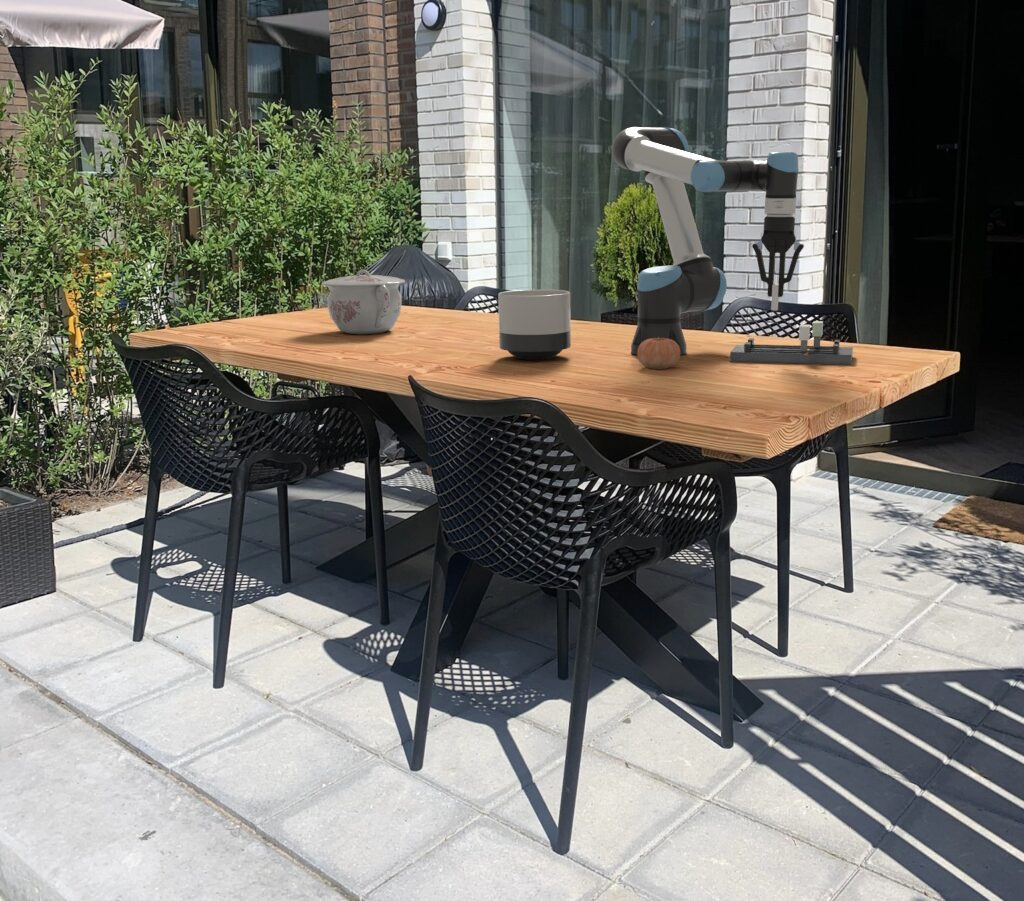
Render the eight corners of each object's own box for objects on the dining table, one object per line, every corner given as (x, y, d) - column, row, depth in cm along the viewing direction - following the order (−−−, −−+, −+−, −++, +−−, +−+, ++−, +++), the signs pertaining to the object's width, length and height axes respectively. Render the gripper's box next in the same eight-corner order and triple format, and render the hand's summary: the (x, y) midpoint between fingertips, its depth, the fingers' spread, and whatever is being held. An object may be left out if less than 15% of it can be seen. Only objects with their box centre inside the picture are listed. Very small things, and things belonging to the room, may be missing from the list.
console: (729, 362, 278) (729, 345, 277) (736, 353, 293) (737, 337, 292) (850, 366, 269) (851, 348, 268) (852, 356, 284) (853, 339, 283)
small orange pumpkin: (669, 372, 265) (670, 340, 263) (629, 369, 271) (630, 338, 269) (687, 366, 274) (687, 335, 272) (648, 363, 280) (648, 333, 278)
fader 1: (798, 351, 275) (799, 326, 274) (799, 349, 279) (800, 324, 278) (808, 352, 275) (809, 326, 273) (809, 349, 278) (810, 324, 277)
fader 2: (811, 347, 282) (812, 322, 280) (812, 345, 286) (813, 321, 284) (821, 348, 281) (822, 323, 280) (821, 345, 285) (823, 321, 283)
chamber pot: (338, 327, 374) (334, 266, 369) (415, 326, 370) (413, 265, 366) (312, 337, 347) (308, 272, 342) (396, 337, 343) (393, 271, 339)
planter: (579, 354, 299) (578, 289, 295) (559, 364, 282) (558, 296, 278) (513, 352, 306) (511, 289, 302) (489, 362, 288) (487, 295, 284)
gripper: (751, 216, 270) (747, 310, 276) (805, 216, 266) (799, 312, 272) (754, 214, 277) (750, 307, 283) (807, 215, 273) (801, 308, 279)
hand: (774, 309), depth 277 cm, fingers closed
